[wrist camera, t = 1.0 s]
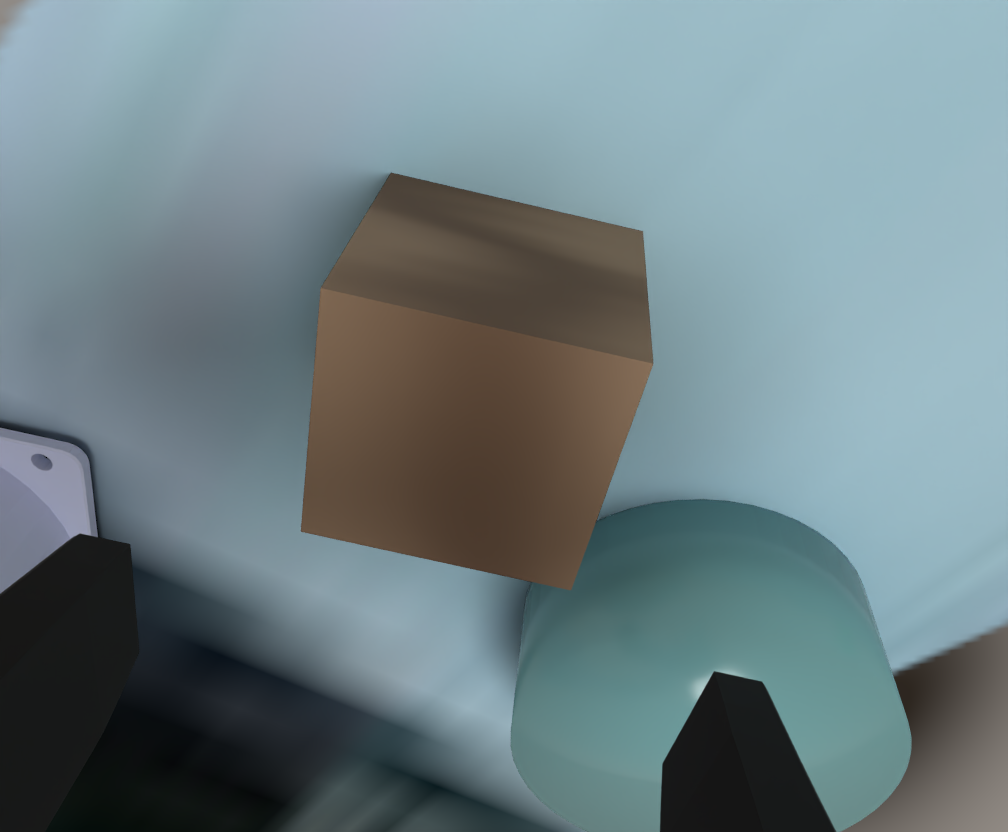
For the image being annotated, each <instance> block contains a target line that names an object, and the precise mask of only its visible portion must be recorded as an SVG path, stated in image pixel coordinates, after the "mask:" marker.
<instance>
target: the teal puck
mask: <svg viewBox="0 0 1008 832" xmlns="http://www.w3.org/2000/svg"><path fill="white" fill-rule="evenodd" d="M714 671H716V672H721V673H725V674H730V675H735V676H739V677H744V678H748V679H753V680H758V681H762V682H763V684H764V685H765V687H766V688H767V690H768V692H769V694H770V697H771V699H772V701H773V703H774V705H775V707H776V709H777V711H778V713H779V716H780V718H781V720H782V722H783V724H784V726H785V728H786V730H787V732H788V735H789V737H790V739H791V741H792V743H793V745H794V747H795V749H796V751H797V753H798V756H799V758H800V760H801V762H802V764H803V766H804V768H805V770H806V772H807V774H808V776H809V778H810V780H811V782H812V784H813V786H814V788H815V790H816V792H817V794H818V796H819V798H820V800H821V802H822V804H823V806H824V808H825V810H826V812H827V814H828V816H829V818H830V820H831V822H832V824H833V826H834V828H835V830H836V832H840V831H843V830H844V829H846V828H848V827H850V826H852V825H853V824H855V823H857V822H859V821H860V820H862V819H863V818H865V817H866V816H867V815H869V814H870V813H871V812H873V811H874V810H876V809H877V808H878V807H879V806H880V805H881V804H882V803H883V802H884V801H885V800H886V799H887V798H888V797H889V796H890V795H891V794H892V792H893V791H894V790H895V788H896V787H897V785H898V784H899V783H900V781H901V779H902V777H903V775H904V773H905V771H906V769H907V766H908V762H909V758H910V754H911V733H910V729H909V724H908V720H907V717H906V714H905V711H904V708H903V705H902V702H901V699H900V696H899V693H898V690H897V686H896V683H895V680H894V677H893V674H892V671H891V668H890V665H889V662H888V659H887V656H886V653H885V650H884V647H883V644H882V640H881V637H880V634H879V631H878V628H877V625H876V622H875V619H874V616H873V613H872V610H871V607H870V604H869V601H868V598H867V595H866V591H865V588H864V586H863V584H862V581H861V579H860V577H859V575H858V573H857V571H856V570H855V568H854V567H853V565H852V564H851V563H850V561H849V560H848V558H847V557H846V556H845V555H844V554H843V553H842V552H841V551H840V550H839V549H838V548H837V547H836V546H835V545H834V544H833V543H832V542H830V541H829V540H828V539H826V538H825V537H824V536H822V535H821V534H820V533H818V532H817V531H815V530H814V529H812V528H810V527H808V526H806V525H805V524H803V523H801V522H799V521H797V520H795V519H792V518H790V517H788V516H785V515H783V514H780V513H778V512H775V511H771V510H768V509H764V508H761V507H757V506H753V505H748V504H742V503H736V502H730V501H719V500H705V499H700V500H675V501H667V502H660V503H652V504H648V505H644V506H639V507H635V508H631V509H628V510H625V511H622V512H619V513H616V514H613V515H610V516H607V517H605V518H603V519H601V520H599V521H597V522H596V523H595V526H594V529H593V531H592V534H591V537H590V540H589V542H588V545H587V548H586V551H585V553H584V556H583V559H582V562H581V564H580V567H579V570H578V573H577V576H576V578H575V581H574V584H573V587H572V589H571V590H566V589H562V588H557V587H553V586H548V585H544V584H539V583H534V582H531V585H530V587H529V589H528V592H527V596H526V601H525V606H524V614H523V623H522V633H521V642H520V651H519V661H518V670H517V679H516V689H515V698H514V707H513V716H512V726H511V750H512V755H513V760H514V762H515V765H516V767H517V769H518V772H519V774H520V776H521V777H522V779H523V780H524V782H525V783H526V785H527V786H528V788H529V789H530V790H531V791H532V792H533V793H534V795H535V796H536V797H537V798H538V799H539V800H540V801H541V802H542V803H544V804H545V805H546V806H547V807H548V808H549V809H551V810H552V811H553V812H554V813H556V814H557V815H559V816H560V817H562V818H563V819H565V820H566V821H568V822H570V823H572V824H573V825H575V826H577V827H579V828H581V829H583V830H585V831H587V832H660V808H661V784H662V763H663V761H664V760H665V758H666V756H667V754H668V752H669V751H670V749H671V747H672V745H673V744H674V742H675V740H676V738H677V736H678V735H679V733H680V731H681V729H682V727H683V726H684V724H685V722H686V720H687V718H688V717H689V715H690V713H691V711H692V709H693V708H694V706H695V704H696V702H697V701H698V699H699V697H700V695H701V693H702V692H703V690H704V688H705V686H706V684H707V683H708V681H709V679H710V677H711V675H712V674H713V672H714Z"/></svg>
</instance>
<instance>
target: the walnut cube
mask: <svg viewBox="0 0 1008 832" xmlns="http://www.w3.org/2000/svg"><path fill="white" fill-rule="evenodd" d="M652 366H653V354H652V341H651V329H650V316H649V303H648V291H647V278H646V265H645V253H644V240H643V231H639V230H635V229H631V228H626V227H622V226H618V225H613V224H609V223H605V222H601V221H596V220H592V219H588V218H583V217H579V216H575V215H571V214H566V213H562V212H558V211H553V210H549V209H545V208H540V207H536V206H532V205H528V204H523V203H519V202H515V201H510V200H506V199H502V198H498V197H493V196H489V195H485V194H480V193H476V192H472V191H467V190H463V189H459V188H455V187H450V186H446V185H442V184H437V183H433V182H429V181H425V180H420V179H416V178H412V177H407V176H403V175H399V174H394V173H391V174H390V175H389V177H388V179H387V180H386V182H385V184H384V185H383V187H382V188H381V190H380V192H379V193H378V195H377V197H376V198H375V200H374V202H373V203H372V205H371V206H370V208H369V210H368V211H367V213H366V215H365V216H364V218H363V220H362V221H361V223H360V224H359V226H358V228H357V229H356V231H355V233H354V234H353V236H352V238H351V239H350V241H349V242H348V244H347V246H346V247H345V249H344V251H343V252H342V254H341V256H340V257H339V259H338V260H337V262H336V264H335V265H334V267H333V269H332V270H331V272H330V274H329V275H328V277H327V278H326V280H325V282H324V283H323V285H322V287H321V290H320V303H319V315H318V327H317V339H316V351H315V364H314V376H313V388H312V400H311V413H310V425H309V437H308V449H307V462H306V474H305V486H304V498H303V511H302V523H301V532H305V533H310V534H314V535H319V536H323V537H328V538H333V539H337V540H342V541H346V542H351V543H355V544H360V545H365V546H369V547H374V548H378V549H383V550H388V551H392V552H397V553H401V554H406V555H411V556H415V557H420V558H424V559H429V560H433V561H438V562H443V563H447V564H452V565H456V566H461V567H466V568H470V569H475V570H479V571H484V572H488V573H493V574H498V575H502V576H507V577H511V578H516V579H521V580H525V581H530V582H534V583H539V584H544V585H548V586H553V587H557V588H562V589H566V590H571V589H572V587H573V584H574V581H575V578H576V576H577V573H578V570H579V567H580V564H581V562H582V559H583V556H584V553H585V551H586V548H587V545H588V542H589V540H590V537H591V534H592V531H593V529H594V526H595V523H596V520H597V518H598V515H599V512H600V509H601V507H602V504H603V501H604V498H605V496H606V493H607V490H608V487H609V485H610V482H611V479H612V476H613V473H614V471H615V468H616V465H617V462H618V460H619V457H620V454H621V451H622V449H623V446H624V443H625V440H626V438H627V435H628V432H629V429H630V427H631V424H632V421H633V418H634V416H635V413H636V410H637V407H638V405H639V402H640V399H641V396H642V394H643V391H644V388H645V385H646V383H647V380H648V377H649V374H650V371H651V369H652Z"/></svg>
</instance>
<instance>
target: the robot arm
mask: <svg viewBox="0 0 1008 832" xmlns="http://www.w3.org/2000/svg"><path fill="white" fill-rule="evenodd" d="M43 455H44V456H46V457H48V458H49V459H50V460H49V459H47V458H45V457H44V456H43ZM138 654H139V642H138V630H137V619H136V607H135V595H134V583H133V571H132V560H131V548H130V544H127V543H122V542H117V541H113V540H108V539H104V538H99V537H98V534H97V525H96V516H95V508H94V499H93V490H92V481H91V473H90V464H89V460H88V457H87V455H86V454H85V453H84V452H83V450H82V449H80V448H79V447H77V446H76V445H73V444H71V443H68V442H63V441H59V440H54V439H49V438H45V437H40V436H36V435H31V434H27V433H22V432H18V431H13V430H8V429H4V428H0V832H45V831H46V829H47V827H48V825H49V824H50V822H51V820H52V819H53V817H54V815H55V814H56V812H57V810H58V809H59V807H60V805H61V804H62V802H63V800H64V799H65V797H66V795H67V794H68V792H69V790H70V788H71V787H72V785H73V783H74V782H75V780H76V778H77V777H78V775H79V773H80V771H81V770H82V768H83V766H84V765H85V763H86V761H87V760H88V758H89V756H90V754H91V753H92V751H93V749H94V748H95V746H96V744H97V742H98V741H99V739H100V737H101V735H102V734H103V732H104V730H105V728H106V726H107V723H108V721H109V719H110V717H111V715H112V713H113V710H114V708H115V706H116V704H117V702H118V700H119V697H120V695H121V693H122V691H123V688H124V686H125V684H126V682H127V679H128V677H129V675H130V672H131V670H132V668H133V665H134V663H135V661H136V659H137V656H138ZM660 832H836V830H835V828H834V826H833V824H832V822H831V820H830V818H829V816H828V814H827V812H826V810H825V808H824V806H823V804H822V802H821V800H820V798H819V796H818V794H817V792H816V790H815V788H814V786H813V784H812V782H811V780H810V778H809V776H808V774H807V772H806V770H805V768H804V766H803V764H802V762H801V760H800V758H799V756H798V753H797V751H796V749H795V747H794V745H793V743H792V741H791V739H790V737H789V735H788V732H787V730H786V728H785V726H784V724H783V722H782V720H781V718H780V716H779V713H778V711H777V709H776V707H775V705H774V703H773V701H772V699H771V697H770V694H769V692H768V690H767V688H766V687H765V685H764V684H763V682H762V681H758V680H753V679H748V678H744V677H739V676H735V675H730V674H725V673H721V672H716V671H714V672H713V674H712V675H711V677H710V679H709V681H708V683H707V684H706V686H705V688H704V690H703V692H702V693H701V695H700V697H699V699H698V701H697V702H696V704H695V706H694V708H693V709H692V711H691V713H690V715H689V717H688V718H687V720H686V722H685V724H684V726H683V727H682V729H681V731H680V733H679V735H678V736H677V738H676V740H675V742H674V744H673V745H672V747H671V749H670V751H669V752H668V754H667V756H666V758H665V760H664V761H663V763H662V784H661V808H660Z"/></svg>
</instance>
